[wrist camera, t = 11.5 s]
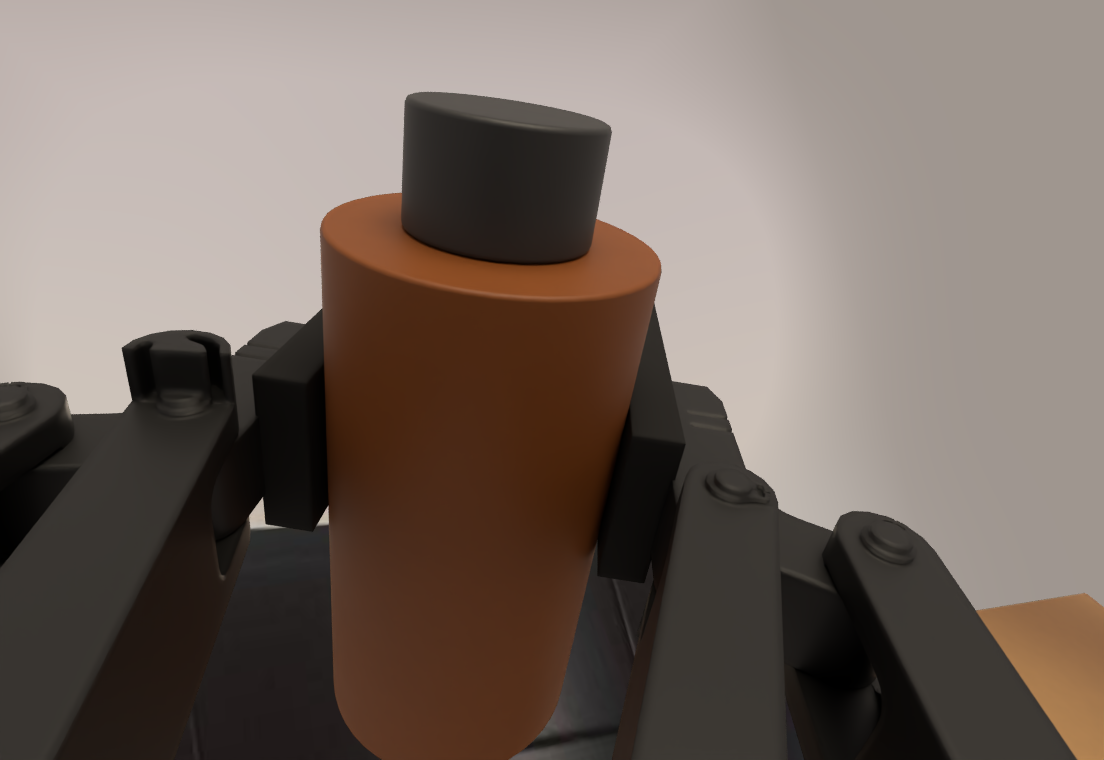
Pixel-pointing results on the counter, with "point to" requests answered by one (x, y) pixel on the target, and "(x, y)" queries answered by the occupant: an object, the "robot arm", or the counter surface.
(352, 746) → the counter surface
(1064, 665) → the stand
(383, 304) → the amber bottle
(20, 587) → the robot arm
